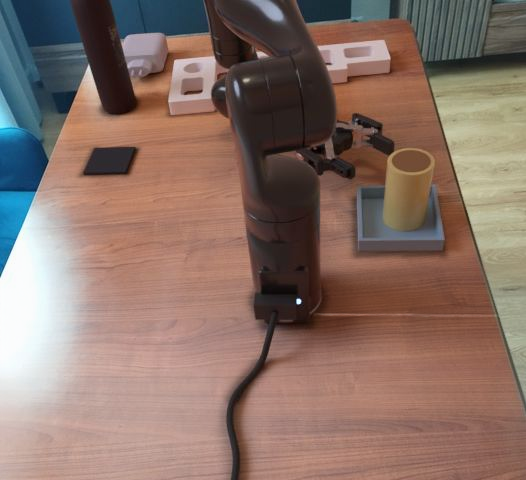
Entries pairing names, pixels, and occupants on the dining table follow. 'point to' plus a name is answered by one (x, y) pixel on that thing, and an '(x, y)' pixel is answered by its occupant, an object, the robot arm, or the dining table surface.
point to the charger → (145, 53)
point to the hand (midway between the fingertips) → (373, 161)
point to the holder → (206, 68)
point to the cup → (407, 188)
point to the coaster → (109, 160)
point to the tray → (386, 239)
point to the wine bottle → (104, 54)
